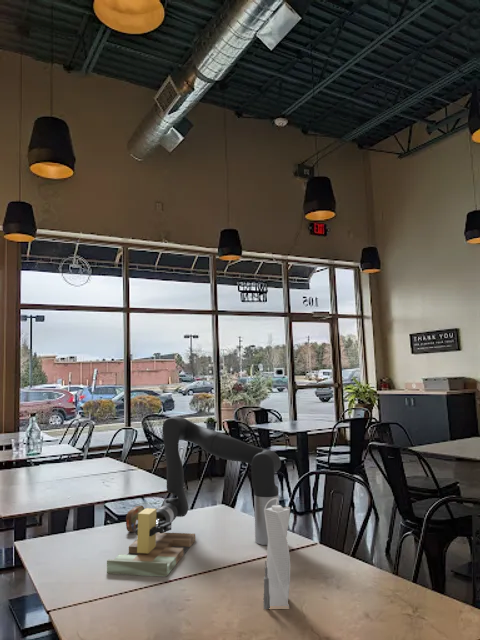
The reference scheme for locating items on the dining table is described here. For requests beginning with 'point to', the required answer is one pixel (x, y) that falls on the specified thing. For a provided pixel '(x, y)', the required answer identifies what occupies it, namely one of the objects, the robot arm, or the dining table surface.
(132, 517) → the tin
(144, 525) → the block
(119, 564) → the board
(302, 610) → the dining table surface
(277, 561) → the skyscraper
